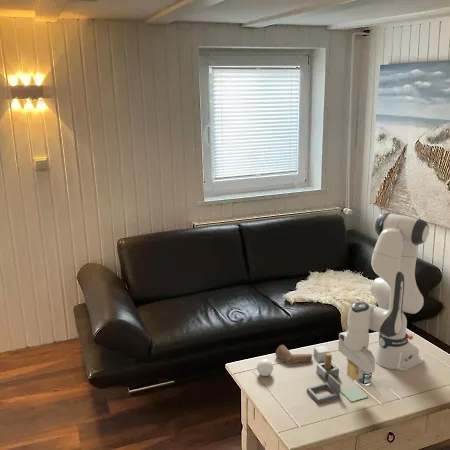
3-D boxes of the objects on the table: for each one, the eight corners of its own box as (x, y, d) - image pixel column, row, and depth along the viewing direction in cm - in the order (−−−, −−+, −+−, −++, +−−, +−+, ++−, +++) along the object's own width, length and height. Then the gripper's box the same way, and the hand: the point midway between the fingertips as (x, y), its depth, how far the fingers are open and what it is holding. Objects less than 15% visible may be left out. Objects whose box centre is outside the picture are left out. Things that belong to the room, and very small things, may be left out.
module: (355, 372, 217) (356, 359, 215) (362, 378, 213) (363, 365, 211) (346, 374, 215) (347, 362, 213) (353, 380, 211) (354, 367, 209)
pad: (356, 387, 222) (356, 386, 221) (367, 397, 214) (367, 396, 214) (340, 391, 219) (340, 390, 219) (351, 402, 212) (351, 401, 212)
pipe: (314, 354, 239) (308, 341, 247) (279, 358, 236) (274, 344, 245) (313, 365, 241) (307, 351, 250) (278, 368, 239) (273, 354, 248)
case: (328, 385, 223) (329, 373, 221) (340, 397, 215) (341, 384, 213) (306, 391, 219) (307, 379, 217) (318, 403, 211) (318, 391, 209)
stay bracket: (329, 368, 235) (330, 361, 234) (338, 376, 229) (338, 368, 228) (316, 372, 233) (316, 364, 232) (324, 380, 227) (325, 372, 226)
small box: (329, 360, 242) (329, 351, 241) (318, 362, 241) (318, 352, 240) (324, 354, 248) (324, 345, 246) (313, 355, 246) (313, 346, 245)
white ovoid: (269, 369, 236) (269, 354, 234) (275, 377, 229) (275, 363, 227) (248, 372, 233) (248, 358, 231) (254, 381, 227) (254, 367, 224)
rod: (328, 372, 233) (329, 352, 230) (332, 375, 230) (333, 355, 227) (322, 373, 232) (323, 353, 229) (326, 377, 229) (327, 357, 226)
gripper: (380, 352, 201) (377, 383, 205) (349, 329, 219) (347, 358, 223) (366, 355, 199) (364, 386, 203) (336, 331, 217) (334, 361, 221)
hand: (355, 371), depth 213 cm, fingers closed on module, 4 cm apart
